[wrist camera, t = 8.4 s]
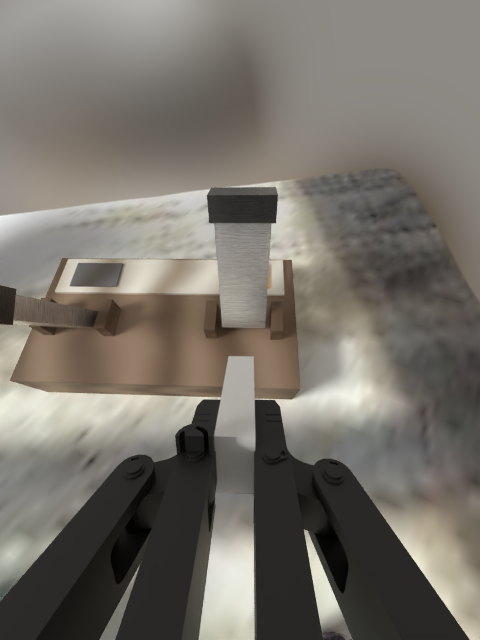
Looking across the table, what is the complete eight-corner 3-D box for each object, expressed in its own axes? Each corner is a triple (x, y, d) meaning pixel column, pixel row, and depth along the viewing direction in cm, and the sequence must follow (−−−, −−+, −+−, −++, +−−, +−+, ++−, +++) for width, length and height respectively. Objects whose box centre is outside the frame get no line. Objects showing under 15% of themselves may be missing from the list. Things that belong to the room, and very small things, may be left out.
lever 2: (218, 329, 24) (206, 195, 17) (221, 315, 26) (211, 187, 19) (268, 330, 24) (277, 194, 17) (267, 315, 26) (275, 187, 19)
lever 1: (57, 330, 26) (-98, 321, 14) (59, 308, 26) (-93, 281, 15) (102, 331, 26) (-18, 322, 14) (104, 308, 26) (-14, 282, 14)
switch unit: (47, 391, 28) (-10, 374, 22) (86, 283, 35) (50, 246, 28) (291, 399, 27) (304, 383, 21) (286, 285, 33) (294, 247, 27)
